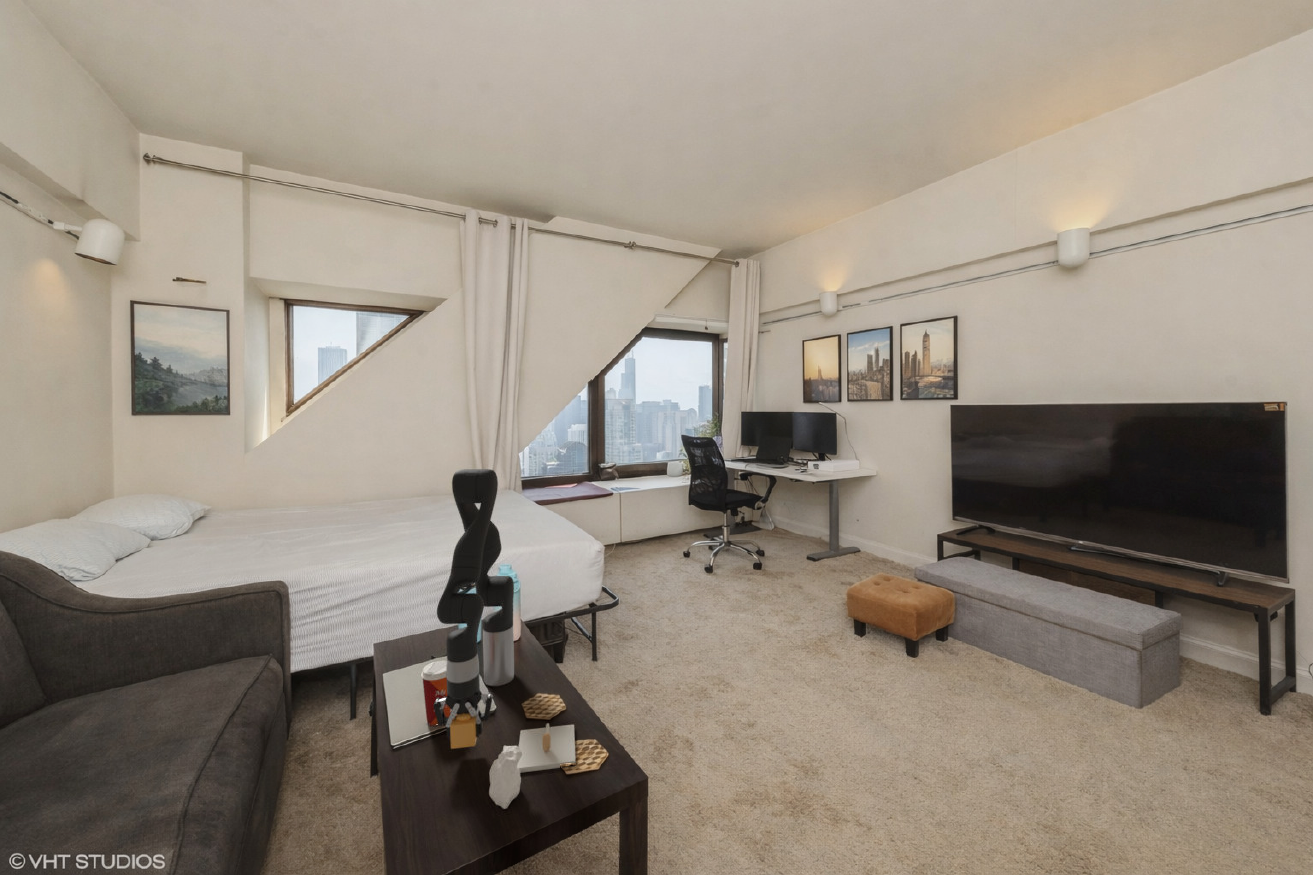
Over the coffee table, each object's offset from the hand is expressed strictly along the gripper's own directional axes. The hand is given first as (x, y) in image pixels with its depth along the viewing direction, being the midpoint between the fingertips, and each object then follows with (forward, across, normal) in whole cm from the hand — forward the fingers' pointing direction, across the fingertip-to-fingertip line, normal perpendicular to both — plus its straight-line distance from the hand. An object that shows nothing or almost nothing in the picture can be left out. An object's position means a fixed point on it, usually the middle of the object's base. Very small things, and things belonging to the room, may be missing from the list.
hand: (465, 736), depth 124 cm
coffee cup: (+5, +10, -16) cm, 20 cm away
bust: (+5, -11, +14) cm, 19 cm away
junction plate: (+5, -20, +2) cm, 21 cm away
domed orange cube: (+1, 0, 0) cm, 1 cm away
